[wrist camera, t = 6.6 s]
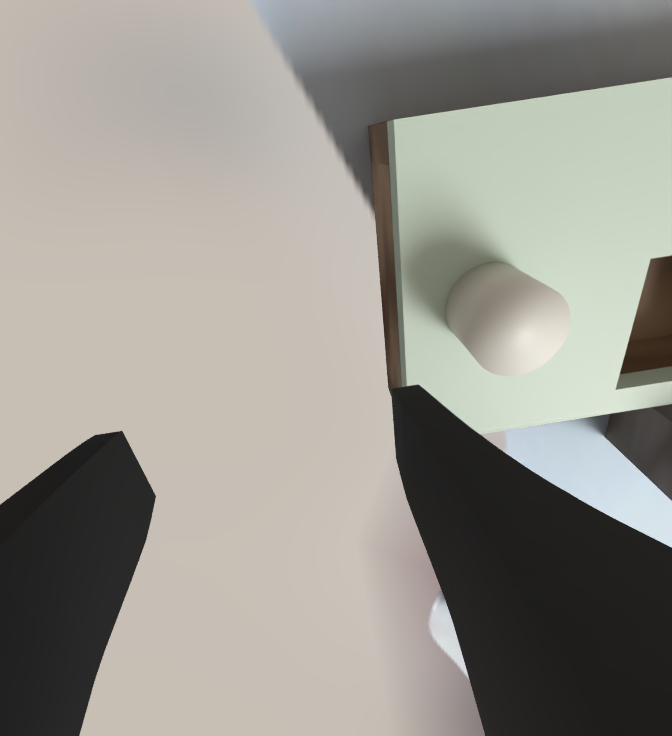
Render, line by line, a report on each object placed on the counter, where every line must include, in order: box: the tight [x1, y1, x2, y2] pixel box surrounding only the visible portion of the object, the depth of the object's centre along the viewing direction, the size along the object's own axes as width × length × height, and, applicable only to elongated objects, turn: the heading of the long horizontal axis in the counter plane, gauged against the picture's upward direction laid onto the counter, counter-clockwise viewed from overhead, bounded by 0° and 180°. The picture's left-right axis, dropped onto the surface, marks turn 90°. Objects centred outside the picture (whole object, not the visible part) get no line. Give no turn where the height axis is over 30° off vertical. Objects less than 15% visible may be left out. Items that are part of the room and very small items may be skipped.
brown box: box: [368, 122, 672, 396], centre depth 17 cm, size 12×16×4 cm
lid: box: [387, 77, 672, 434], centre depth 13 cm, size 12×16×4 cm
